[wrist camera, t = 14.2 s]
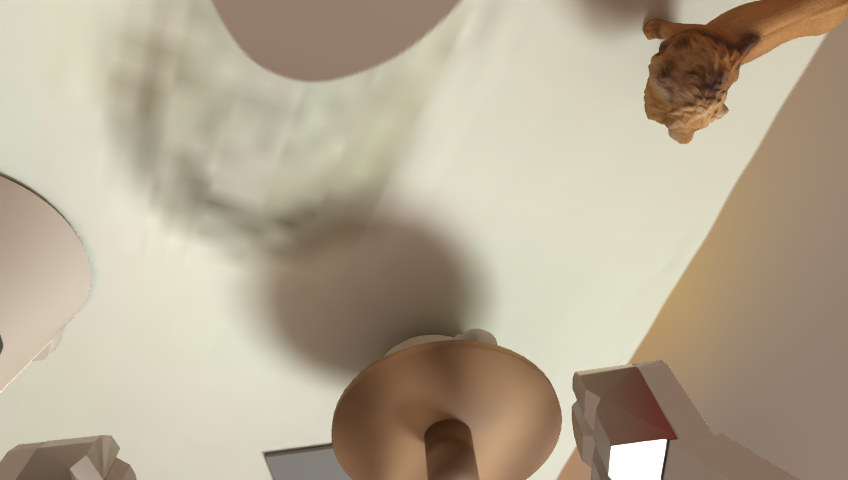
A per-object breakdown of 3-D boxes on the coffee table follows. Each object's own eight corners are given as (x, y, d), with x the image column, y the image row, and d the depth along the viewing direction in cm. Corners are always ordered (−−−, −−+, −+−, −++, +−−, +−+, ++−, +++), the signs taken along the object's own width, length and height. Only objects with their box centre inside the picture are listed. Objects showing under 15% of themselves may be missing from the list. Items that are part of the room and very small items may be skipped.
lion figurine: (626, 119, 38) (689, 170, 30) (591, 57, 36) (650, 94, 28) (835, -19, 34) (968, -3, 26) (812, -100, 32) (950, -107, 24)
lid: (355, 510, 45) (352, 570, 41) (308, 358, 36) (299, 414, 32) (558, 482, 45) (576, 539, 41) (559, 324, 36) (582, 375, 32)
